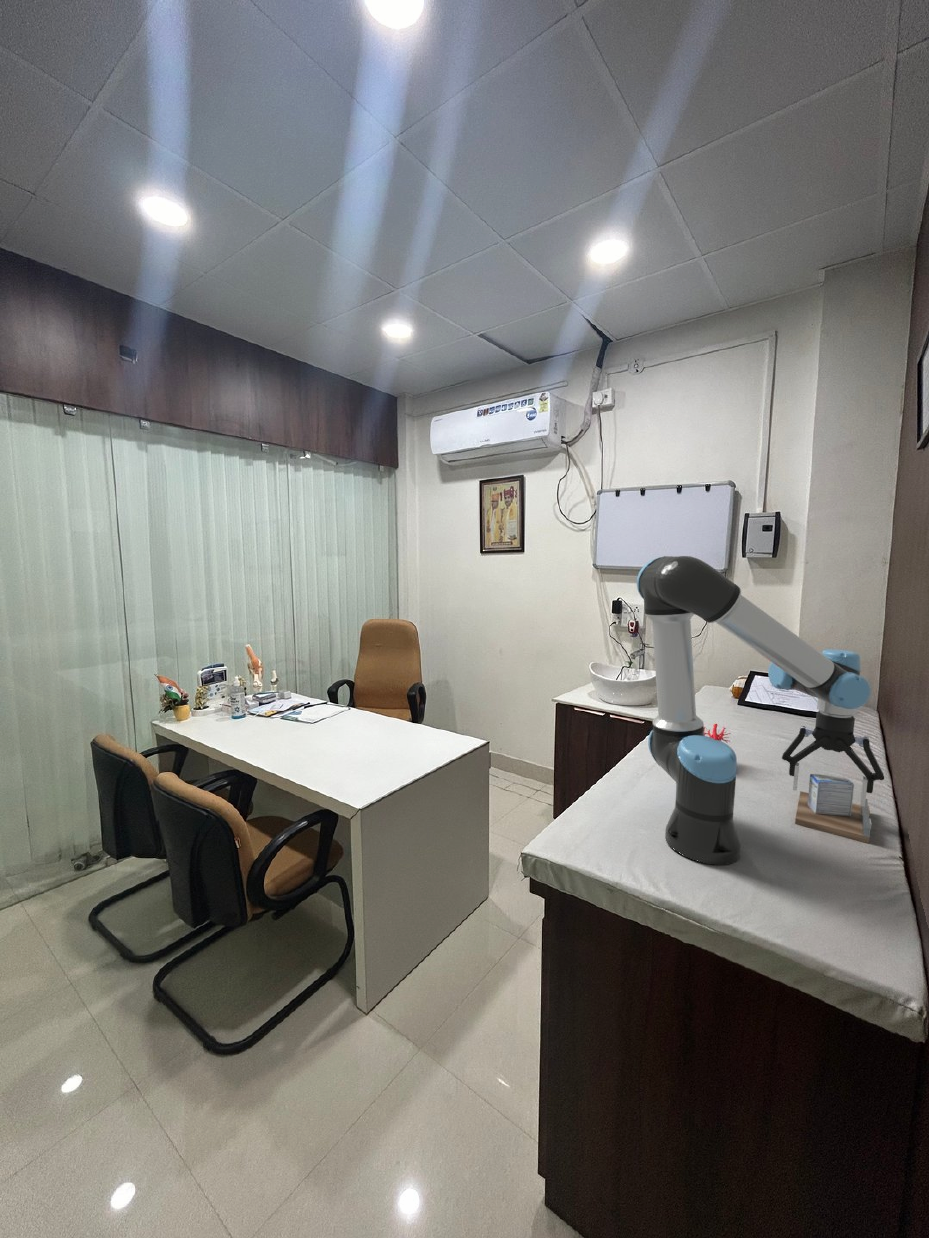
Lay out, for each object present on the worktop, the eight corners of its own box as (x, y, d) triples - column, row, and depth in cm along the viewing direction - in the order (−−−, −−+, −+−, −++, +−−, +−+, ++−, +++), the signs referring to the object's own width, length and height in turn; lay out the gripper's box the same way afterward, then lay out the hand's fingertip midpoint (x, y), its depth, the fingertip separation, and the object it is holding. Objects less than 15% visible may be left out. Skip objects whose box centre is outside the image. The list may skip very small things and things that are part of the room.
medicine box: (841, 808, 125) (844, 775, 124) (851, 817, 121) (854, 783, 120) (806, 805, 127) (809, 772, 126) (815, 814, 122) (818, 780, 121)
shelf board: (870, 843, 112) (872, 829, 112) (794, 823, 120) (796, 810, 120) (867, 812, 126) (868, 799, 126) (800, 796, 135) (801, 784, 134)
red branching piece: (688, 767, 154) (690, 730, 152) (696, 755, 163) (698, 720, 162) (724, 775, 148) (726, 736, 146) (730, 763, 157) (732, 726, 156)
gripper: (901, 719, 117) (892, 805, 119) (777, 701, 132) (771, 777, 134) (905, 727, 111) (895, 817, 113) (774, 707, 126) (767, 787, 128)
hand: (827, 796), depth 123 cm, fingers open, 13 cm apart
